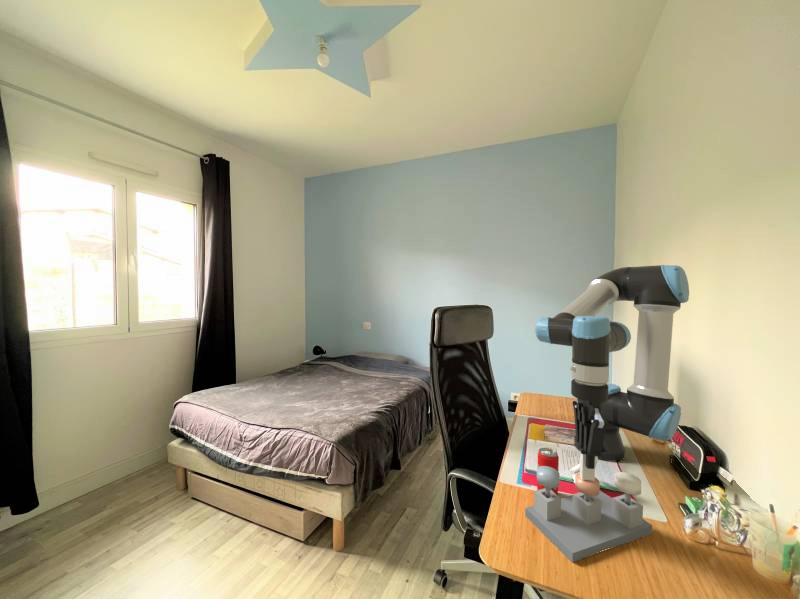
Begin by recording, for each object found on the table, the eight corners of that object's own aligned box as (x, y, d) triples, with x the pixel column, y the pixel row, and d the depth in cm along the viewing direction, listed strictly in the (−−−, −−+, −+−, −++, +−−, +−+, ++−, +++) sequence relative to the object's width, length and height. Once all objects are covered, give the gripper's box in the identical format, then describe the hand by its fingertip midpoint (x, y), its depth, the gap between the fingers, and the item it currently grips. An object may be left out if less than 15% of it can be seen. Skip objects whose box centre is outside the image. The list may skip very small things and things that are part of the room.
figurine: (585, 495, 85) (586, 452, 85) (562, 478, 93) (563, 439, 92) (606, 489, 88) (607, 448, 87) (581, 473, 95) (582, 435, 95)
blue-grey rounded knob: (547, 490, 79) (548, 464, 79) (563, 503, 74) (564, 475, 74) (531, 495, 77) (532, 468, 77) (547, 508, 73) (547, 479, 72)
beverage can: (560, 502, 82) (561, 458, 82) (539, 499, 83) (540, 456, 83) (554, 489, 88) (555, 448, 87) (535, 487, 89) (535, 446, 88)
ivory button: (624, 497, 76) (625, 470, 76) (645, 511, 72) (646, 482, 71) (609, 502, 75) (610, 474, 75) (630, 516, 70) (631, 486, 70)
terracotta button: (585, 498, 78) (585, 471, 78) (604, 512, 73) (604, 483, 73) (569, 502, 76) (570, 475, 76) (588, 516, 71) (588, 487, 71)
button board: (596, 495, 85) (597, 472, 85) (652, 533, 72) (652, 506, 72) (525, 515, 78) (525, 490, 77) (572, 562, 64) (573, 532, 64)
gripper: (562, 373, 81) (560, 462, 81) (584, 389, 68) (581, 494, 68) (593, 374, 79) (591, 464, 80) (622, 390, 67) (619, 498, 67)
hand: (587, 478), depth 74 cm, fingers closed
